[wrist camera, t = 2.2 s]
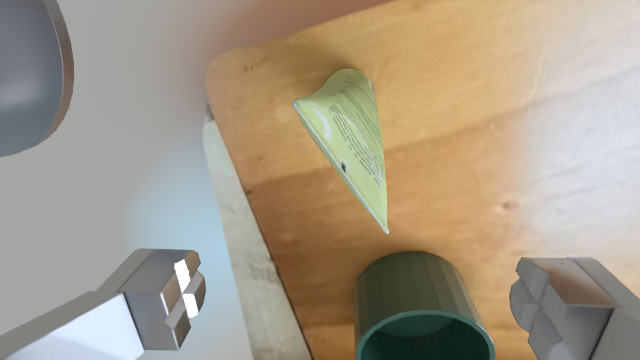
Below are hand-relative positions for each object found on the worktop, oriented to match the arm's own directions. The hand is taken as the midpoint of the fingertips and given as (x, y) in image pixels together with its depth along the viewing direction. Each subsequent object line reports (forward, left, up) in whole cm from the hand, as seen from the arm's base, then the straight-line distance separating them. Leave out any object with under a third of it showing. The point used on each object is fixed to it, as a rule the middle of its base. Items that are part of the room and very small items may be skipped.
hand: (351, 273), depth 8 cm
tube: (0, 0, -26) cm, 26 cm away
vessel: (+8, -26, -26) cm, 38 cm away
